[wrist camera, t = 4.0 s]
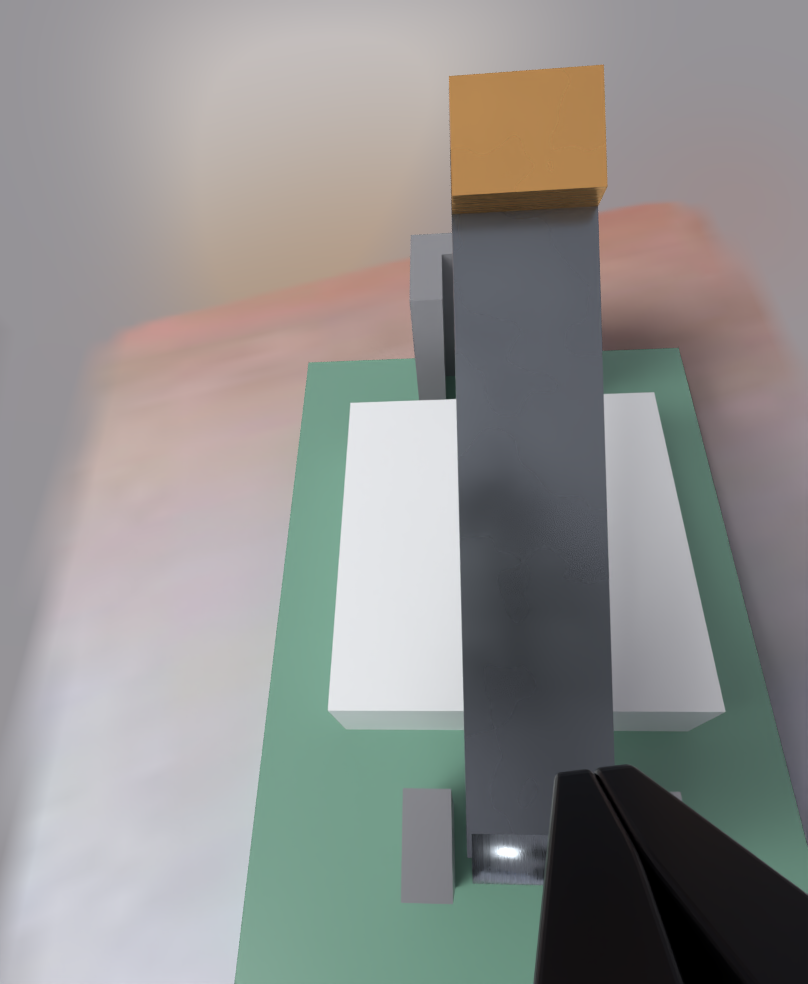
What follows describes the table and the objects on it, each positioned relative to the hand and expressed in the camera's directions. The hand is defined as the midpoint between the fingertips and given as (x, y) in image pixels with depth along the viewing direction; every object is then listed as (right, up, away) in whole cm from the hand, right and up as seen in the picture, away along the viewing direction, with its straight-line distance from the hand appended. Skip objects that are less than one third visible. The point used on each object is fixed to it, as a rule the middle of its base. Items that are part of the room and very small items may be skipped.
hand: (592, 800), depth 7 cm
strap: (+1, +4, +7) cm, 8 cm away
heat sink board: (+1, -1, +15) cm, 15 cm away
